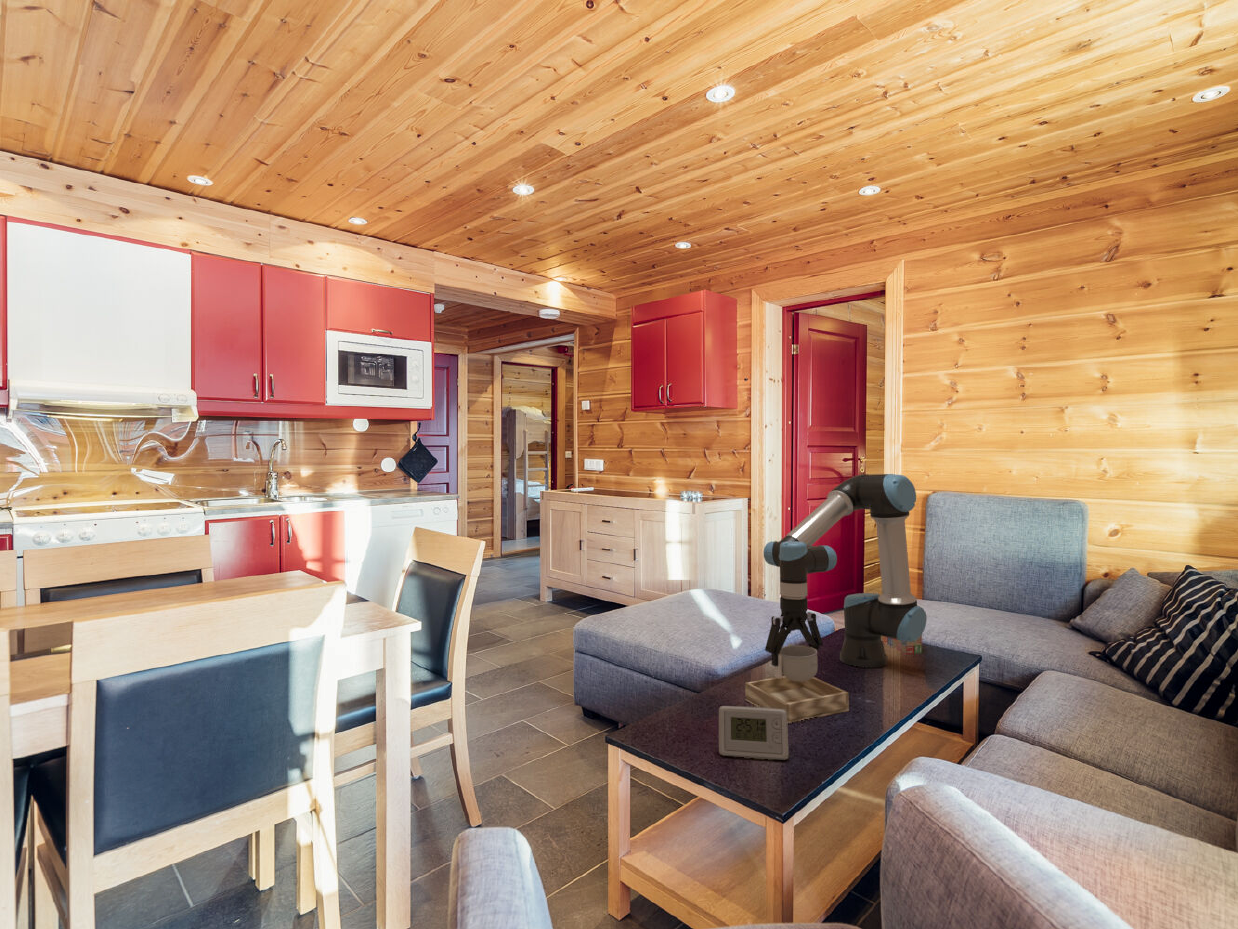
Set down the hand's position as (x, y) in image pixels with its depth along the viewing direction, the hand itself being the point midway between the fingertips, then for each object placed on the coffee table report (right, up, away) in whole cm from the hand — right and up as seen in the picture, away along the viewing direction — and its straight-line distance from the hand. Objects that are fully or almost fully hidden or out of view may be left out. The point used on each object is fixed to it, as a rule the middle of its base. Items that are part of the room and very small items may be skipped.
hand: (794, 674), depth 180 cm
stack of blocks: (+54, -8, +57) cm, 79 cm away
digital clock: (-18, -9, -30) cm, 36 cm away
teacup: (+1, -1, 0) cm, 1 cm away
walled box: (0, -9, 0) cm, 9 cm away
